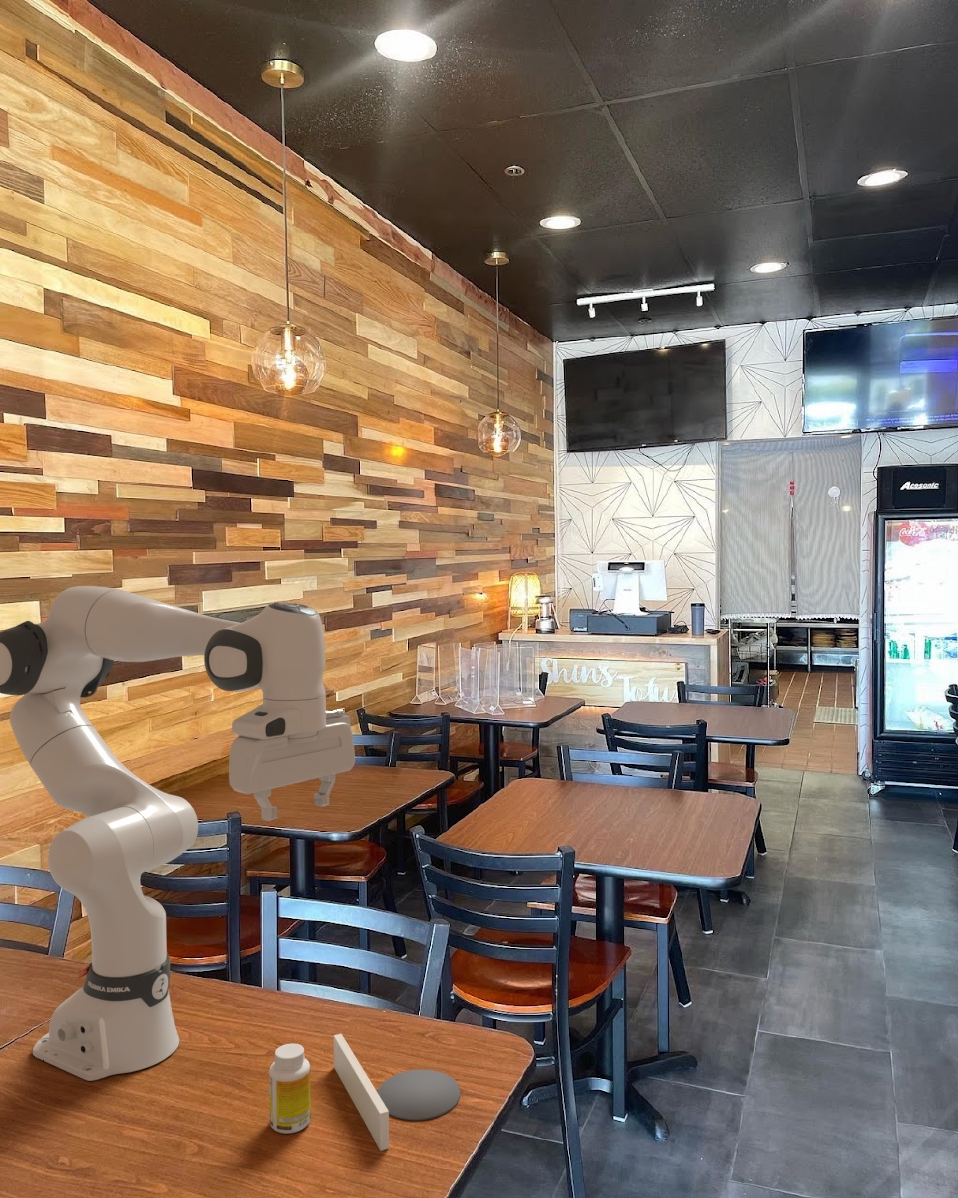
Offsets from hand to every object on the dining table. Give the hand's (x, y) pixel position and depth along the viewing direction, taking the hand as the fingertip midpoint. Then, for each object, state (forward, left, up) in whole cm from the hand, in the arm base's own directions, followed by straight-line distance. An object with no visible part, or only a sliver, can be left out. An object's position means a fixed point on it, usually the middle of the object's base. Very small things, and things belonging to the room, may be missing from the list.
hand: (296, 812), depth 131 cm
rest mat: (+16, +6, -41) cm, 45 cm away
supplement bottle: (+2, -6, -42) cm, 42 cm away
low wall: (+9, +1, -41) cm, 42 cm away
